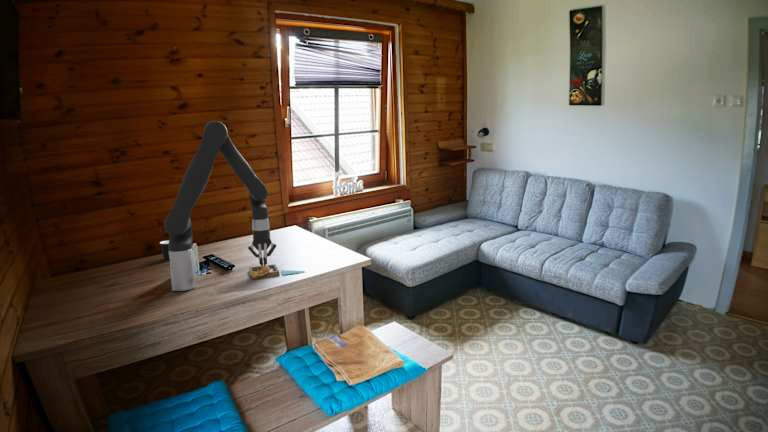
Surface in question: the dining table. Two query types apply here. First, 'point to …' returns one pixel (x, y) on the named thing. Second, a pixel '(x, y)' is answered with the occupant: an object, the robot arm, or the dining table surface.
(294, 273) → the teal pad
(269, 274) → the brown wooden frame
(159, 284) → the dining table surface
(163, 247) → the dixie cup
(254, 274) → the figurine
